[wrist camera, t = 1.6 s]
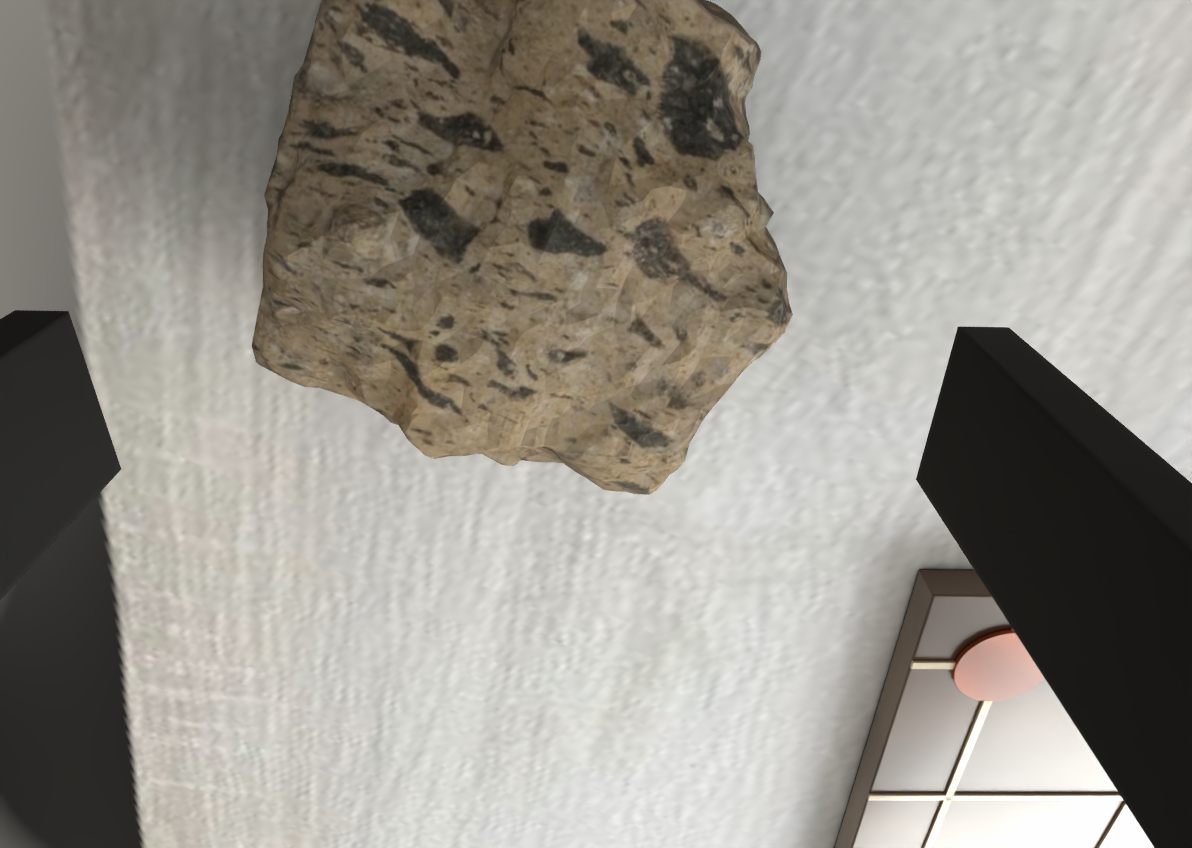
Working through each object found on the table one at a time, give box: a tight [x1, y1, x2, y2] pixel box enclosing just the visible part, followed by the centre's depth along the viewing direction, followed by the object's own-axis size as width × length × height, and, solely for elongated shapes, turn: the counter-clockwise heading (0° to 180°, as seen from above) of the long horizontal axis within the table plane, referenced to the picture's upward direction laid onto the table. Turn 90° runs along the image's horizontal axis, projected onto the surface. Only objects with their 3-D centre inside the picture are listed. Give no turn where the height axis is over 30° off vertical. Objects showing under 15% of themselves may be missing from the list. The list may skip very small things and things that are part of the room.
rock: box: [252, 0, 792, 494], centre depth 17 cm, size 11×12×4 cm
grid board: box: [835, 570, 1154, 848], centre depth 30 cm, size 20×20×1 cm
